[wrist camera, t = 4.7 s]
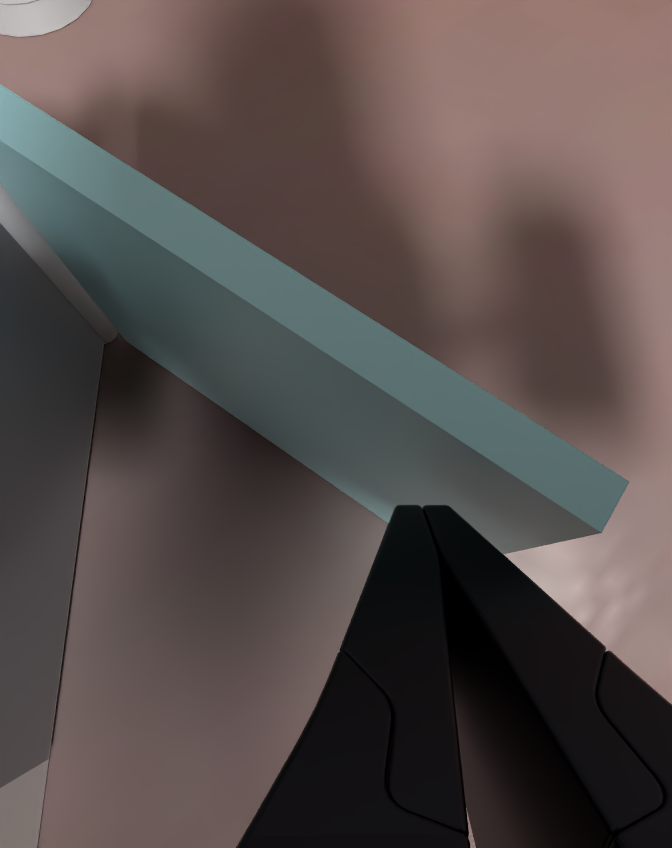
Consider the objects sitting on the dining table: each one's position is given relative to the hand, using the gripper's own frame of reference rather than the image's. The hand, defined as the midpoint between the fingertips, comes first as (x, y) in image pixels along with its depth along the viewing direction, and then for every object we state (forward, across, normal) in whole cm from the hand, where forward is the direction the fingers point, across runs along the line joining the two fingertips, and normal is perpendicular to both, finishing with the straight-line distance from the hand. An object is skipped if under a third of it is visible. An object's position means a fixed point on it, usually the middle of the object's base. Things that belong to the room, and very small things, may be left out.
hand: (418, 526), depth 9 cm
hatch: (+8, +2, +2) cm, 8 cm away
